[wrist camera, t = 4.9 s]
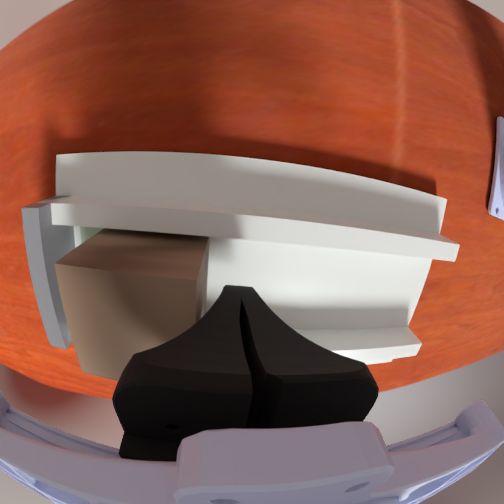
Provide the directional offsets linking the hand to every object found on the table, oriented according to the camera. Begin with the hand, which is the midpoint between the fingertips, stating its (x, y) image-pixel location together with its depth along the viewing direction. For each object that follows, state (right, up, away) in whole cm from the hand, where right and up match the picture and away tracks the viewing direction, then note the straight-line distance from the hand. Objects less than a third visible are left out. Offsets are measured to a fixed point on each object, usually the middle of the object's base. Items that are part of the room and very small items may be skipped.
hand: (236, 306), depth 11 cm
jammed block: (-4, +1, +2) cm, 4 cm away
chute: (+1, +1, +3) cm, 3 cm away
